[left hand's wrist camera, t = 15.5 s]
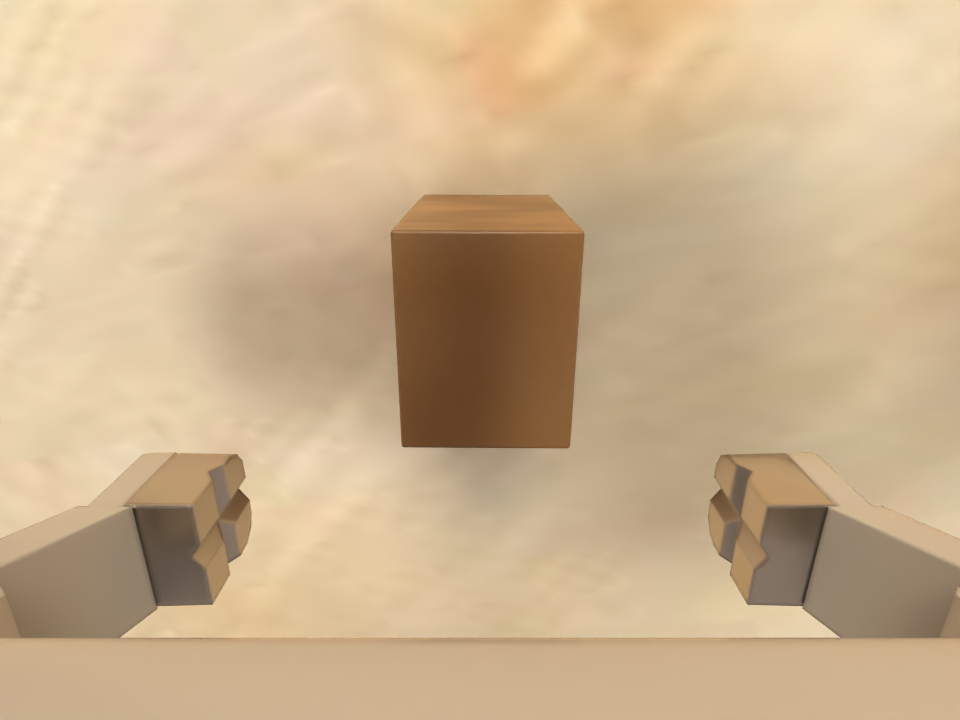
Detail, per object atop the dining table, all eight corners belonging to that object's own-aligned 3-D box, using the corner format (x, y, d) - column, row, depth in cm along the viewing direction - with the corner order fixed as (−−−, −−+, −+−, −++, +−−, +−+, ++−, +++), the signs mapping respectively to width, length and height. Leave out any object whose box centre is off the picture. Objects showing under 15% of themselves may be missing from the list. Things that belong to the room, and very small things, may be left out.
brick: (549, 195, 23) (584, 231, 15) (542, 346, 25) (570, 449, 17) (423, 194, 23) (390, 230, 15) (428, 346, 25) (401, 448, 17)
